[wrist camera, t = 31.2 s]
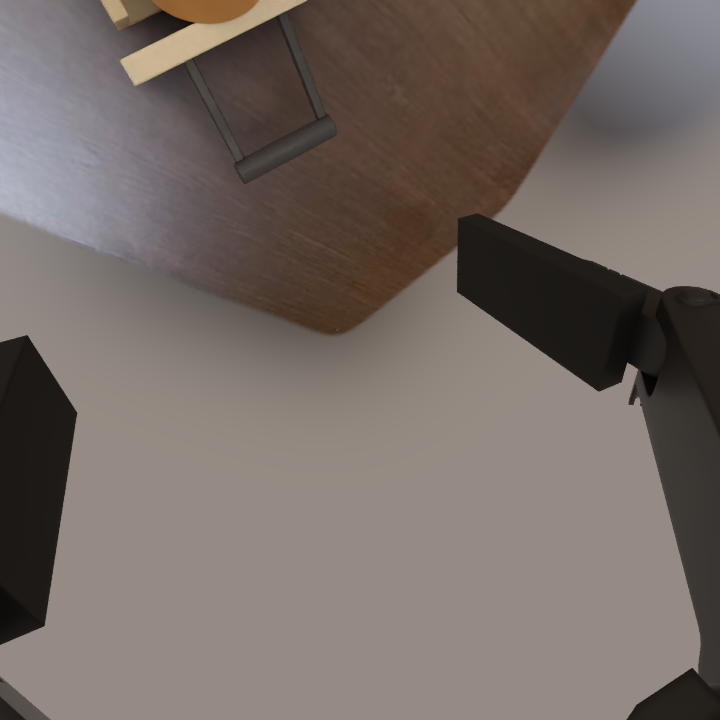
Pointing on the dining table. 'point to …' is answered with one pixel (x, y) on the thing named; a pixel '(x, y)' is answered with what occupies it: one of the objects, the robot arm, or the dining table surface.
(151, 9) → the drawer
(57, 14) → the dining table surface
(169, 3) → the orange dome-capped jar
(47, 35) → the dining table surface
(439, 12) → the dining table surface
